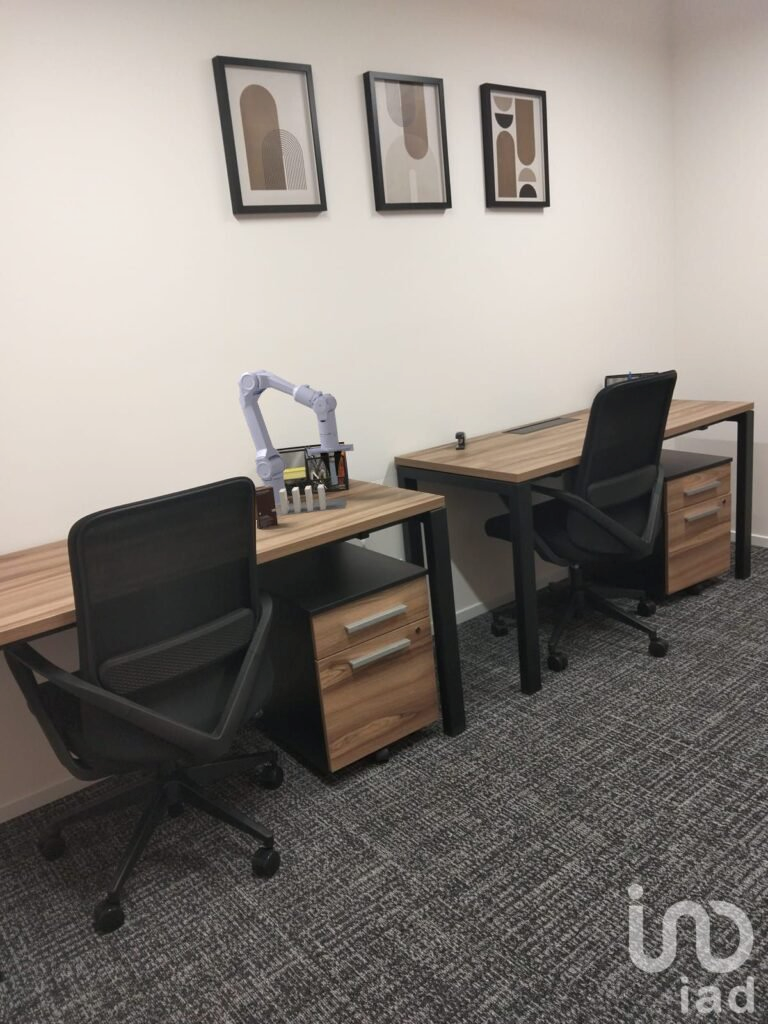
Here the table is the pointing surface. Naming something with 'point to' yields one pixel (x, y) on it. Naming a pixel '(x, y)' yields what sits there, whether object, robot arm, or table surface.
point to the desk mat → (316, 506)
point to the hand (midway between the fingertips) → (333, 475)
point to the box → (265, 507)
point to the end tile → (333, 472)
